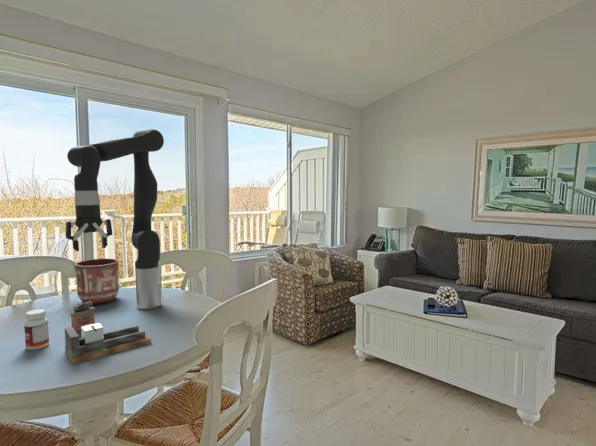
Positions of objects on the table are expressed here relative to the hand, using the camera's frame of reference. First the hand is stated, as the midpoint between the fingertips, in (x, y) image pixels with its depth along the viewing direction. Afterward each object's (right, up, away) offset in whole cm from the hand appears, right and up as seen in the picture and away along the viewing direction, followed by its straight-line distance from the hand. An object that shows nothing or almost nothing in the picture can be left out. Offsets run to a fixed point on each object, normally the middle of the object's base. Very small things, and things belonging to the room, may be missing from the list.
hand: (90, 249), depth 130 cm
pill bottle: (-10, -30, -13) cm, 34 cm away
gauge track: (+14, -30, -14) cm, 36 cm away
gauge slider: (+11, -29, -18) cm, 35 cm away
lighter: (-3, -29, 0) cm, 29 cm away
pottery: (-16, -26, +36) cm, 47 cm away
